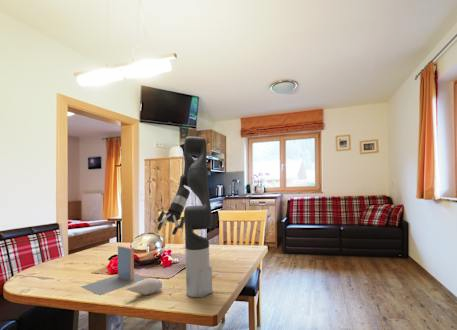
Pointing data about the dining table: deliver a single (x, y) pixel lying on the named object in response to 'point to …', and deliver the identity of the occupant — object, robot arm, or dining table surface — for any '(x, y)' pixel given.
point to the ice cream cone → (146, 286)
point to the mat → (111, 284)
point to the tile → (126, 263)
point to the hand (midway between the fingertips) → (165, 232)
